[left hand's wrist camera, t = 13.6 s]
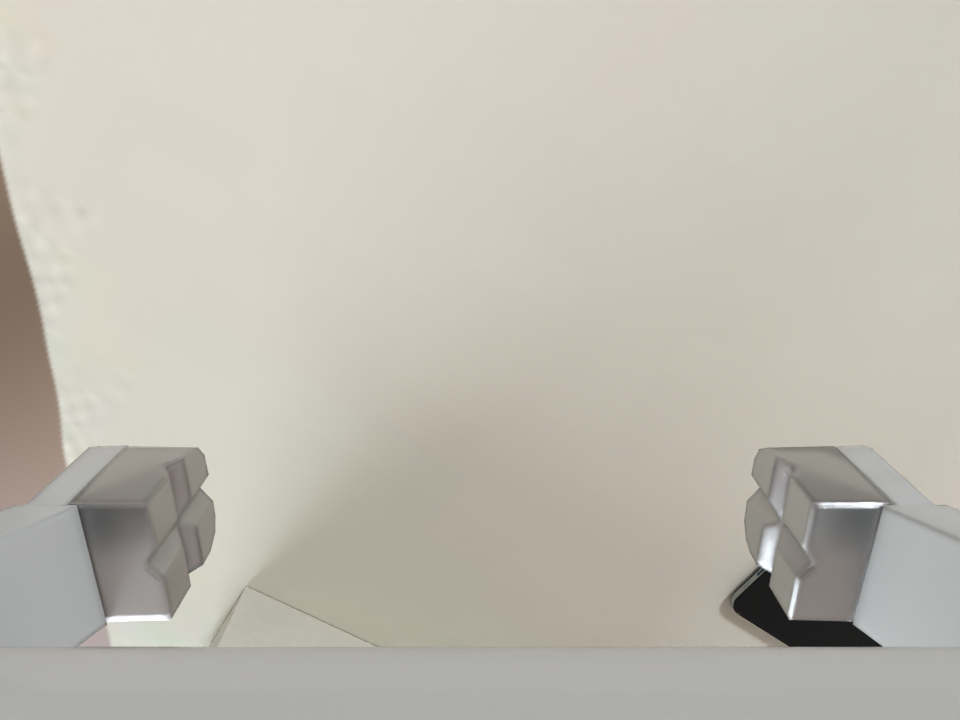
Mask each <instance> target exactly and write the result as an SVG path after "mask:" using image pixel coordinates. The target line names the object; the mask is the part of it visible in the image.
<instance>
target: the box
mask: <svg viewBox="0 0 960 720" xmlns="http://www.w3.org/2000/svg"><path fill="white" fill-rule="evenodd" d="M209 647H376V646H374V645H372V644H370V643H368V642H365V641H363V640H361V639H359V638H357V637H355V636H353V635H350V634H348V633H346V632H344V631H342V630H340V629H337V628H335V627H333V626H331V625H329V624H327V623H325V622H322V621H320V620H318V619H316V618H314V617H312V616H309V615H307V614H305V613H303V612H301V611H299V610H297V609H294V608H292V607H290V606H288V605H286V604H284V603H281V602H279V601H277V600H275V599H273V598H271V597H269V596H266V595H264V594H262V593H260V592H258V591H256V590H253V589H251V588H249V587H247V586H246V587H245V589H244V590H243V592H242V594H241V595H240V597H239V598H238V600H237V602H236V603H235V605H234V607H233V608H232V610H231V612H230V613H229V615H228V616H227V618H226V620H225V621H224V623H223V625H222V626H221V628H220V630H219V631H218V633H217V635H216V636H215V638H214V639H213V641H212V643H211V644H210V646H209Z"/></svg>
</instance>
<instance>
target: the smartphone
mask: <svg viewBox="0 0 960 720" xmlns="http://www.w3.org/2000/svg"><path fill="white" fill-rule="evenodd" d="M770 579H771V573H770V572H768V571H766V570H765V569H763V568H761V569H759V570H758V571H757V572H756V573H755V574H754V575H753V576H752V577H751V578H750V579H749V580H748V581H747V582H746V583H745V584H744V585H743V586H741V587H740V588H739V589H738V590H737V591H736V592H735V593H734V594H733V596H732V599H731V604H732V606H733V608H734V610H735V612H736V613H737V614H739V615H740V616H742V617H743V618H745V619H747V620H748V621H750V622H751V623H753V624H755V625H756V626H758V627H759V628H761V629H762V630H764V631H766V632H767V633H769V634H770V635H772V636H774V637H775V638H777V639H778V640H780V641H782V642H783V643H785V644H786V645H788V646H789V647H883V646H881V645H880V644H879V643H877V642H876V641H875V640H873V639H872V638H871V637H869V636H868V635H867V634H865V633H864V632H863V631H861V630H860V629H859V628H857V627H856V626H855V625H853V621H816V620H789V619H788V617H787V615H786V613H785V612H784V610H783V608H782V607H781V605H780V603H779V602H778V600H777V598H776V597H775V595H774V593H773V592H772V590H771V588H770V586H769V584H770Z"/></svg>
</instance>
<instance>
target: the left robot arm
mask: <svg viewBox="0 0 960 720" xmlns="http://www.w3.org/2000/svg"><path fill="white" fill-rule="evenodd" d="M208 475H209V474H208V470H207V465H206V460H205V455H204V454H203V453H202V452H201V450H200V449H199V448H193V447H138V446H132V447H129V446H98V447H89V448H88V449H87V450H86V451H85V452H84V453H82V454H81V455H80V456H79V457H78V458H77V459H76V460H75V461H74V462H72V463H71V464H70V465H69V466H68V467H67V468H66V469H65V470H64V471H63V472H61V473H60V474H59V475H58V476H57V477H56V478H55V479H54V480H53V481H51V482H50V483H49V484H48V485H47V486H46V487H45V488H44V489H43V490H42V491H40V492H39V493H38V494H37V495H36V496H35V497H34V498H33V499H32V500H31V501H30V502H28V503H27V504H26V505H13V506H11V507H8V508H6V509H3V510H1V511H0V720H960V511H959V510H957V509H954V508H952V507H949V506H947V505H934V504H933V503H932V502H931V501H930V500H928V499H927V498H926V497H925V496H924V495H923V494H922V493H921V492H920V491H919V490H917V489H916V488H915V487H914V486H913V485H912V484H911V483H910V482H909V481H908V480H906V479H905V478H904V477H903V476H902V475H901V474H900V473H899V472H898V471H897V470H895V469H894V468H893V467H892V466H891V465H890V464H889V463H888V462H887V461H886V460H884V459H883V458H882V457H881V456H880V455H879V454H878V453H877V452H876V451H875V450H873V449H872V448H870V447H866V446H863V445H862V446H839V447H834V446H822V447H780V448H763V449H759V450H758V453H757V455H756V457H755V459H754V463H753V469H752V474H751V475H752V476H753V478H754V480H755V481H756V483H757V484H758V486H759V487H760V488H759V489H758V490H757V491H756V492H755V493H754V494H753V495H752V496H751V497H750V498H749V499H748V500H747V504H746V512H745V519H744V523H745V534H746V541H747V544H748V547H749V550H750V553H751V555H752V557H753V559H754V560H755V562H756V564H757V565H758V566H760V567H762V568H763V569H765V570H766V571H768V572H770V573H771V579H770V584H769V586H770V588H771V590H772V592H773V593H774V595H775V597H776V598H777V600H778V602H779V603H780V605H781V607H782V608H783V610H784V612H785V613H786V615H787V617H788V619H789V620H816V621H853V625H855V626H856V627H857V628H859V629H860V630H861V631H863V632H864V633H865V634H867V635H868V636H869V637H871V638H872V639H873V640H875V641H876V642H877V643H879V644H880V645H881V646H883V647H77V646H79V645H80V644H81V643H83V642H84V641H85V640H87V639H88V638H90V637H91V636H92V635H94V634H95V633H96V632H98V631H99V630H100V629H102V628H103V627H104V626H106V625H107V621H143V620H171V619H172V617H173V615H174V614H175V612H176V610H177V609H178V607H179V605H180V603H181V602H182V600H183V598H184V597H185V595H186V593H187V592H188V590H189V588H190V586H191V584H190V579H189V573H190V572H192V571H194V570H195V569H197V568H198V567H200V566H202V565H203V564H204V562H205V560H206V558H207V557H208V555H209V553H210V551H211V547H212V543H213V539H214V535H215V510H214V504H213V500H212V499H211V498H210V497H209V496H208V495H207V494H206V493H205V492H204V491H203V490H202V489H201V488H200V487H201V486H202V484H203V483H204V481H205V480H206V478H207V476H208Z"/></svg>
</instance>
